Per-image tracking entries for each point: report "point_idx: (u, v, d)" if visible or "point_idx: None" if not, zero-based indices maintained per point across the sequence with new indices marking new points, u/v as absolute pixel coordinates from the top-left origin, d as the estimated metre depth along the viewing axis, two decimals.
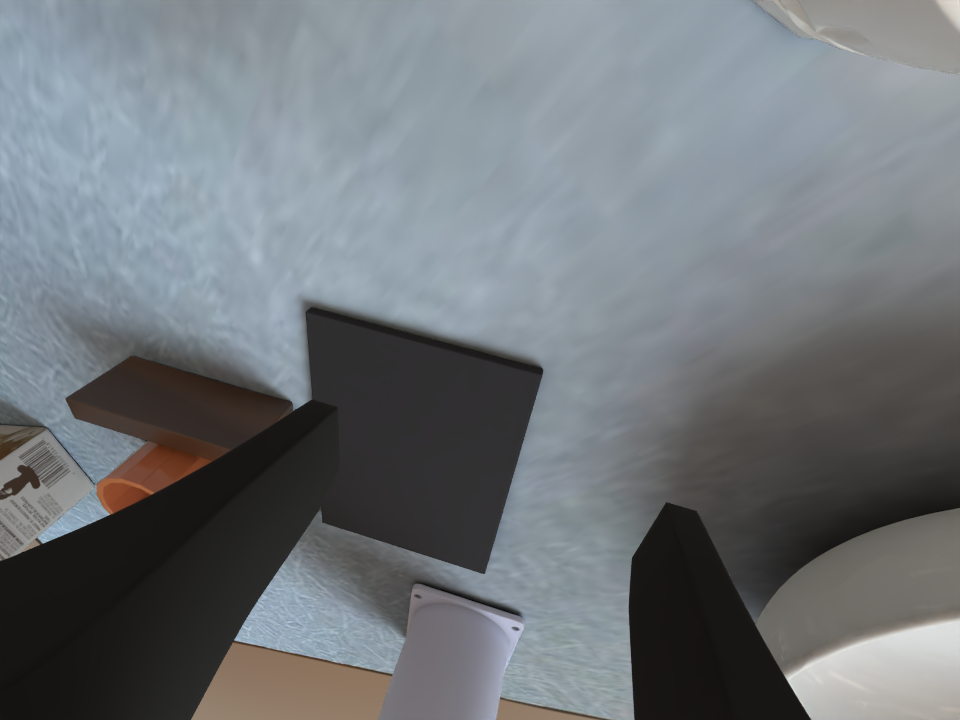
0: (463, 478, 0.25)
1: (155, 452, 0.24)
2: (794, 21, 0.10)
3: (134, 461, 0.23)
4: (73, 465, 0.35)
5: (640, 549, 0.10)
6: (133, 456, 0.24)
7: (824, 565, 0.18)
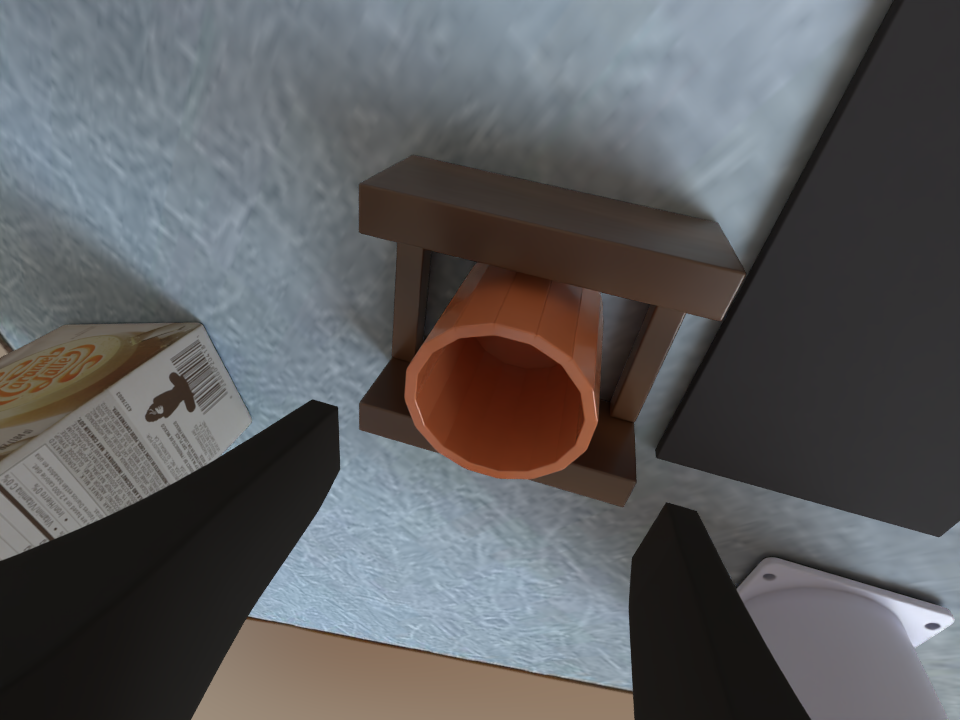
0: None
1: (516, 292, 0.13)
2: None
3: (489, 303, 0.12)
4: (230, 385, 0.24)
5: (640, 549, 0.10)
6: (476, 299, 0.13)
7: None
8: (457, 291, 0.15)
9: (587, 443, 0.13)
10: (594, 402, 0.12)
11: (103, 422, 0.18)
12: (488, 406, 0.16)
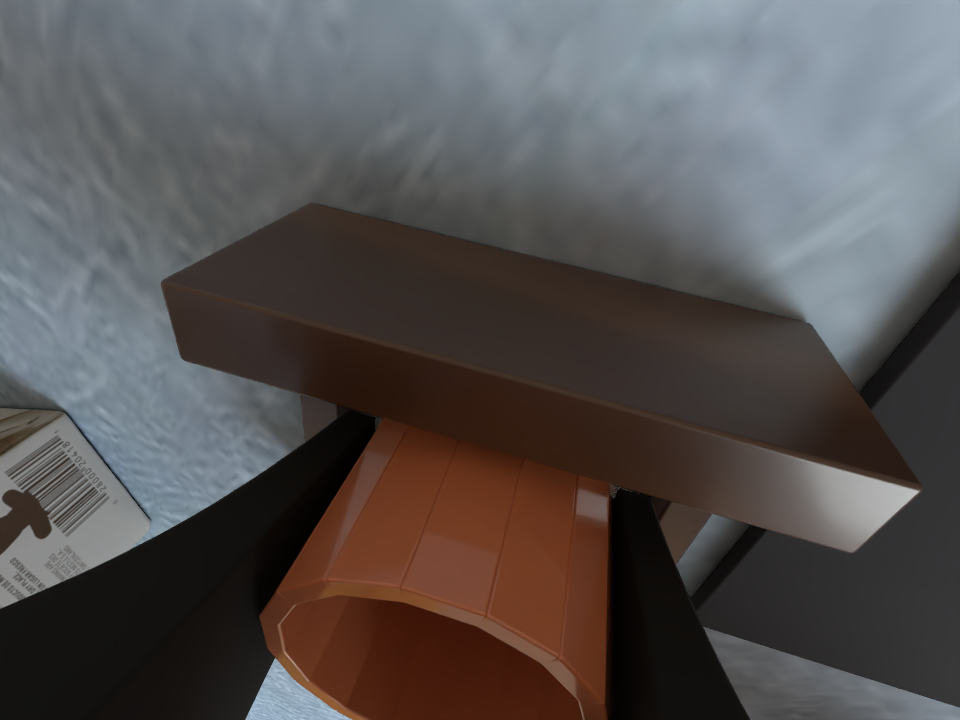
0: None
1: (461, 475, 0.07)
2: None
3: (407, 508, 0.07)
4: (114, 486, 0.18)
5: None
6: (387, 488, 0.07)
7: None
8: (376, 432, 0.09)
9: None
10: (605, 716, 0.06)
11: None
12: None
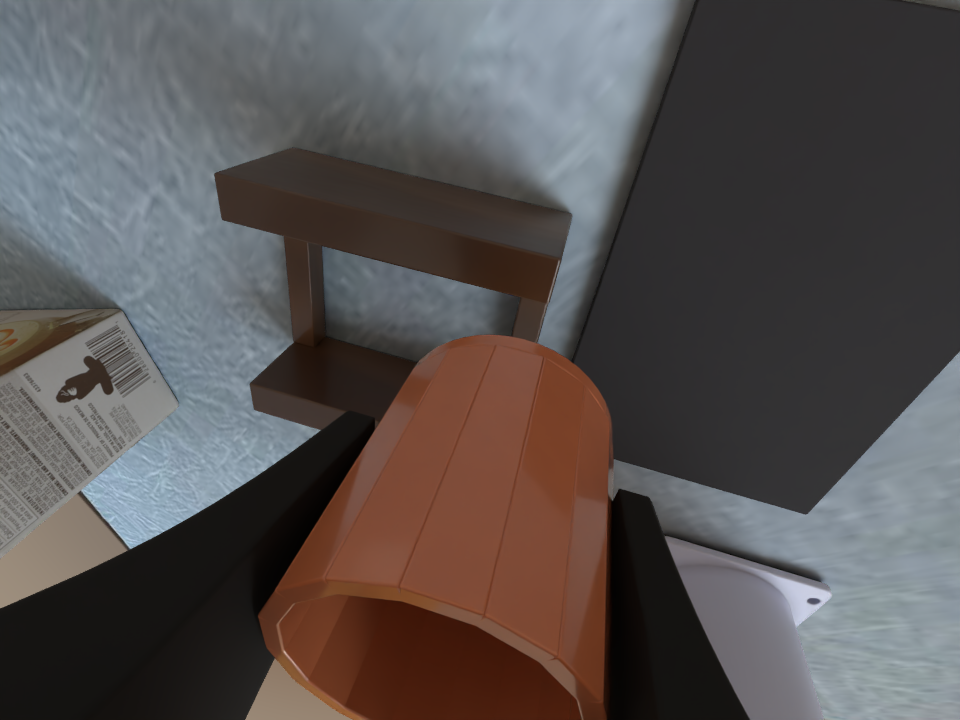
0: (872, 336, 0.15)
1: (460, 473, 0.07)
2: None
3: (405, 507, 0.07)
4: (154, 370, 0.24)
5: None
6: (385, 487, 0.07)
7: None
8: (374, 431, 0.09)
9: None
10: (604, 715, 0.06)
11: (8, 402, 0.19)
12: None
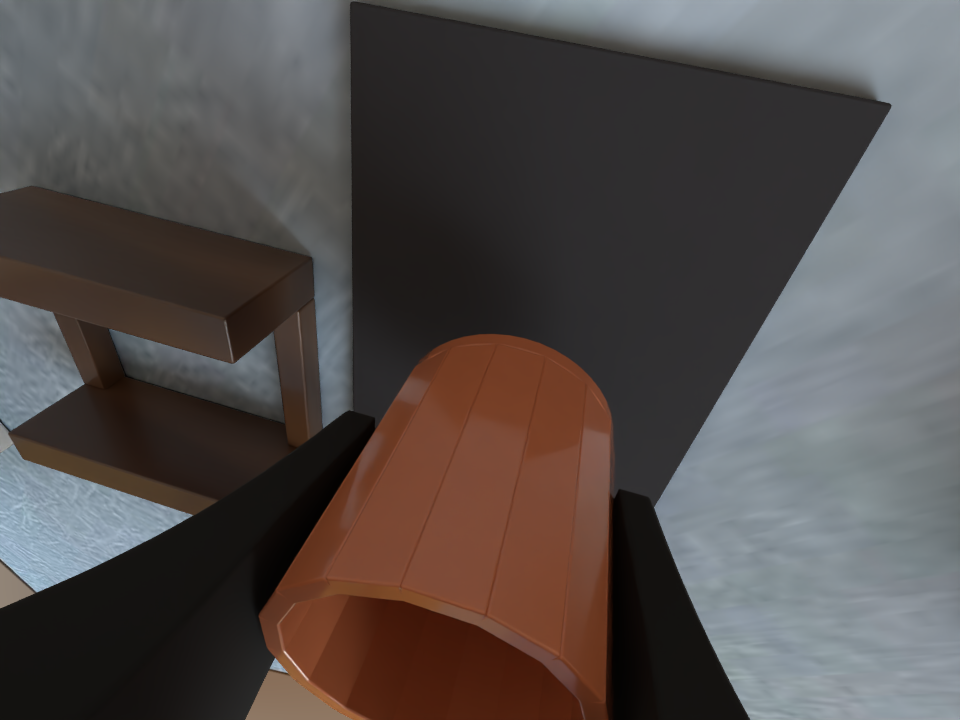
0: (625, 389, 0.14)
1: (461, 473, 0.07)
2: None
3: (406, 507, 0.07)
4: None
5: None
6: (386, 486, 0.07)
7: None
8: (375, 430, 0.09)
9: None
10: (606, 715, 0.06)
11: None
12: None
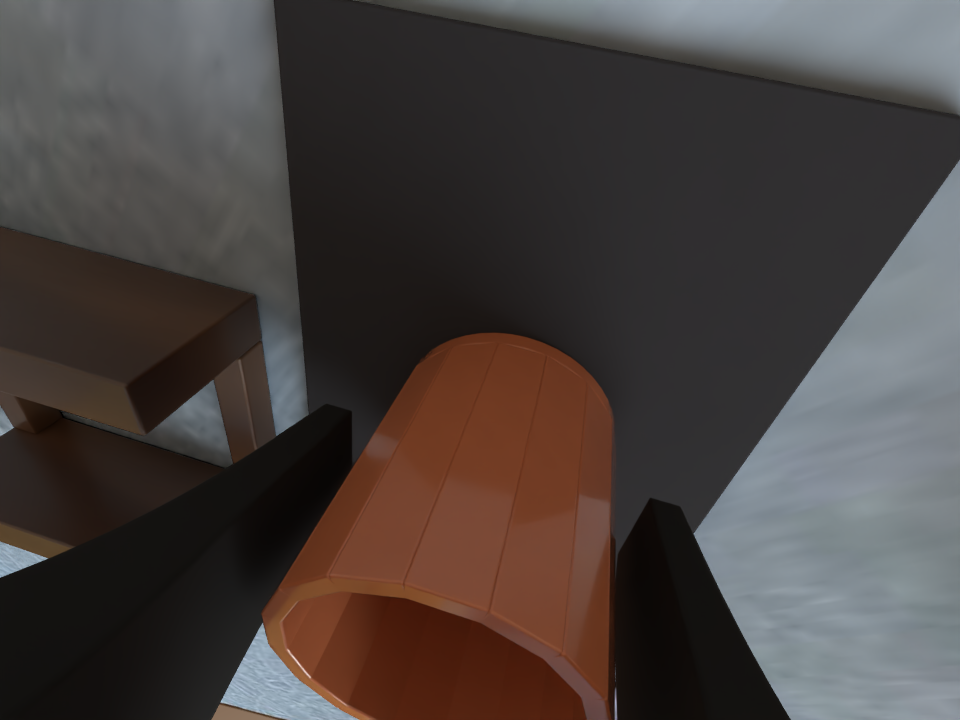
0: (626, 455, 0.11)
1: (463, 471, 0.07)
2: None
3: (409, 504, 0.07)
4: None
5: (625, 544, 0.10)
6: (389, 484, 0.07)
7: None
8: (377, 429, 0.09)
9: None
10: (608, 712, 0.06)
11: None
12: None
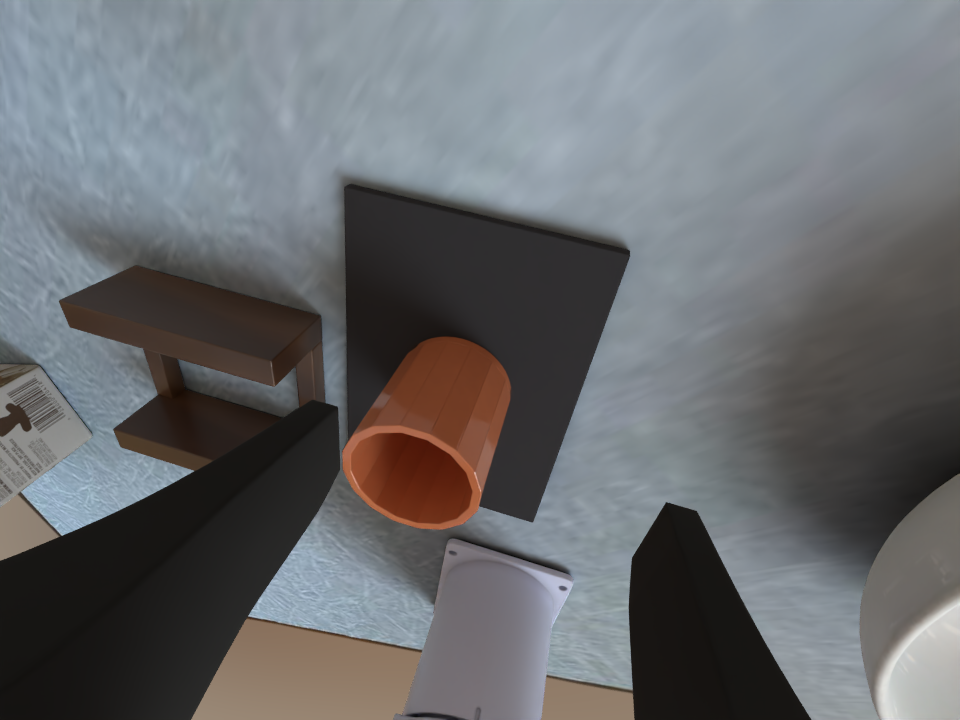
0: (519, 401, 0.22)
1: (425, 393, 0.17)
2: None
3: (402, 404, 0.17)
4: (68, 410, 0.31)
5: (640, 549, 0.10)
6: (394, 398, 0.17)
7: None
8: None
9: (477, 506, 0.17)
10: (477, 479, 0.16)
11: None
12: (418, 466, 0.21)
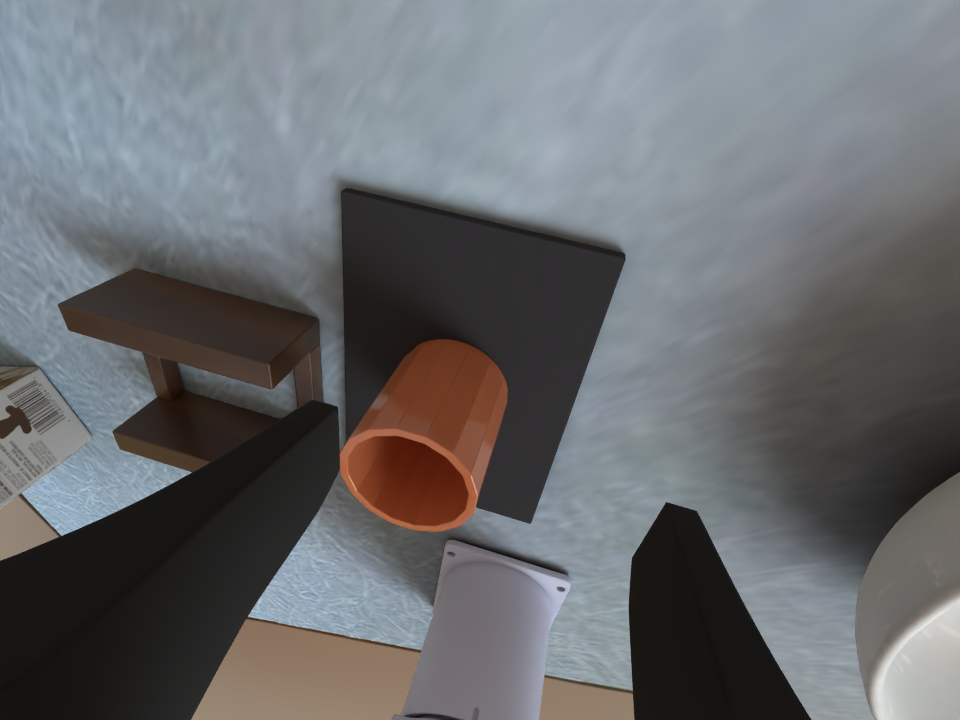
0: (516, 403, 0.22)
1: (421, 396, 0.17)
2: None
3: (399, 407, 0.17)
4: (68, 411, 0.31)
5: (640, 549, 0.10)
6: (391, 401, 0.17)
7: None
8: None
9: (473, 509, 0.17)
10: (473, 482, 0.16)
11: None
12: (415, 468, 0.21)
